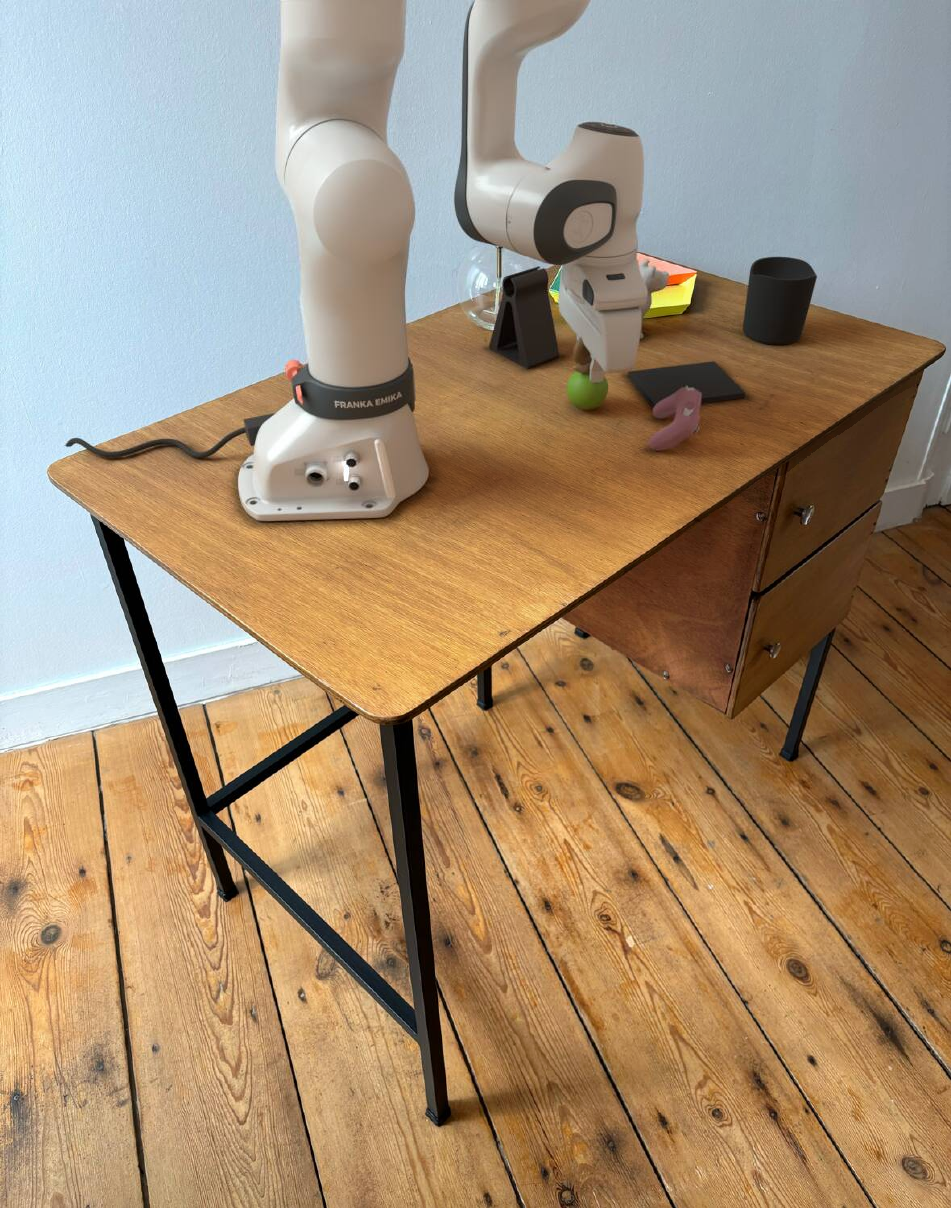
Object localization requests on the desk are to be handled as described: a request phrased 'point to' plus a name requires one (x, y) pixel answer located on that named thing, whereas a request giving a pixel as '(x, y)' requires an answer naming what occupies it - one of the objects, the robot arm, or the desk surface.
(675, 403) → the video game controller
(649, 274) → the dog figurine
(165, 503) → the desk surface
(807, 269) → the pen holder
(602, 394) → the snail figurine
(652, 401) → the mat
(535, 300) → the phone stand
